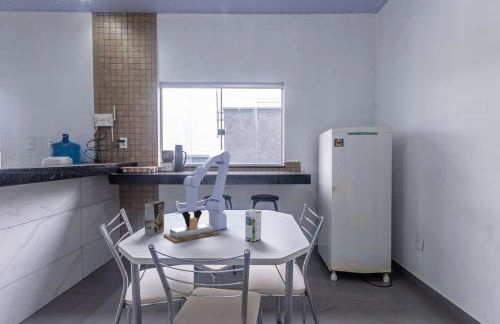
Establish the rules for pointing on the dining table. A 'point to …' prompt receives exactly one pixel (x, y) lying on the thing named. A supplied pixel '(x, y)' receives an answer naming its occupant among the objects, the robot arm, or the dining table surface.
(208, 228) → the white square hole block
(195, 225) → the peg
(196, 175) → the robot arm
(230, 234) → the dining table surface
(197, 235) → the board
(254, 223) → the syrup box
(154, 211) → the coffee box
